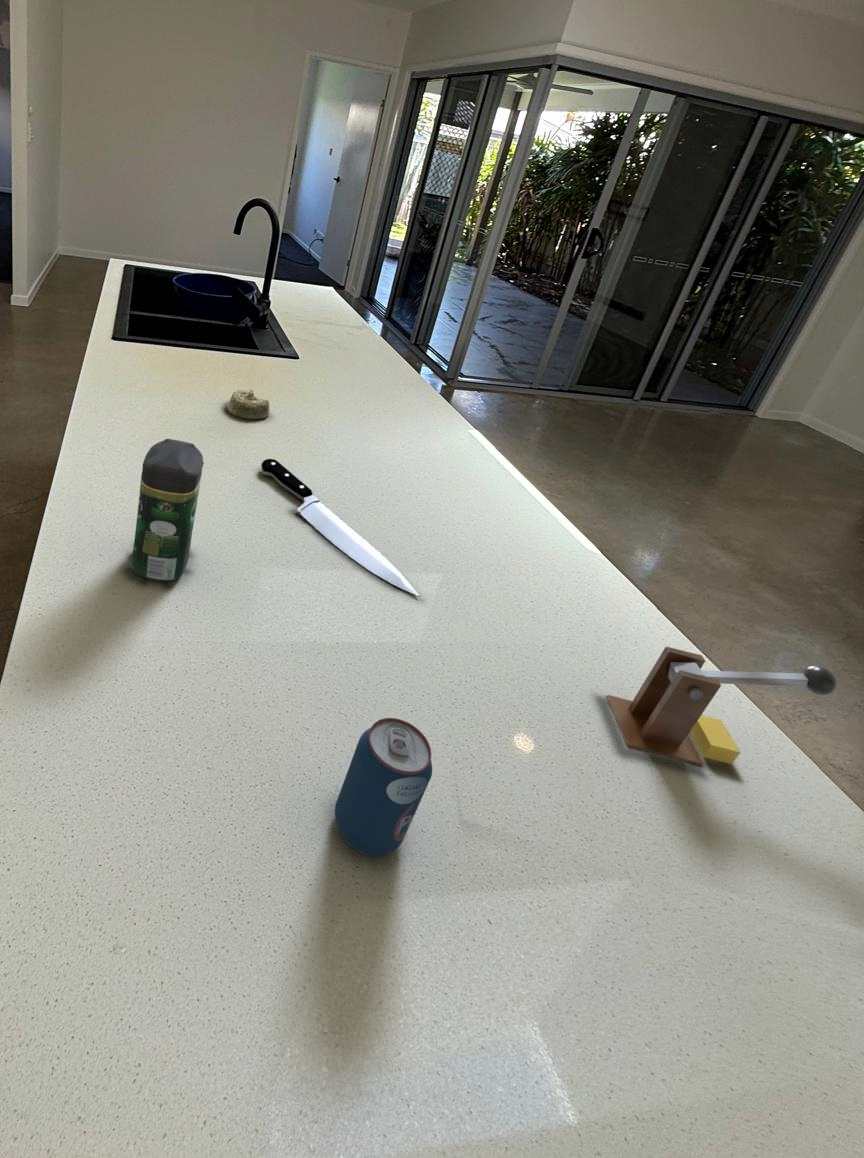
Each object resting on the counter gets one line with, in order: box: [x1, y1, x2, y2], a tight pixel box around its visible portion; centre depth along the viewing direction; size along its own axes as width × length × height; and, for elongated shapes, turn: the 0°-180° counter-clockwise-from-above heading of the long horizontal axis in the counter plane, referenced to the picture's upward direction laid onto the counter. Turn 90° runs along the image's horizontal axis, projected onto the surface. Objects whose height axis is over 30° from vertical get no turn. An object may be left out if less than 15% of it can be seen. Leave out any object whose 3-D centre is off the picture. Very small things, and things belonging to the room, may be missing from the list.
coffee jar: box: [130, 438, 205, 583], centre depth 91 cm, size 10×8×19 cm
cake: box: [226, 389, 271, 420], centre depth 149 cm, size 10×10×5 cm
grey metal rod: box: [668, 662, 838, 696], centre depth 77 cm, size 17×3×3 cm, turn 81°
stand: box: [605, 646, 722, 766], centre depth 80 cm, size 9×8×12 cm
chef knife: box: [260, 458, 420, 597], centre depth 112 cm, size 5×41×2 cm, turn 36°
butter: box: [689, 714, 741, 765], centre depth 82 cm, size 4×5×3 cm
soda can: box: [334, 717, 433, 857], centre depth 61 cm, size 7×7×12 cm
